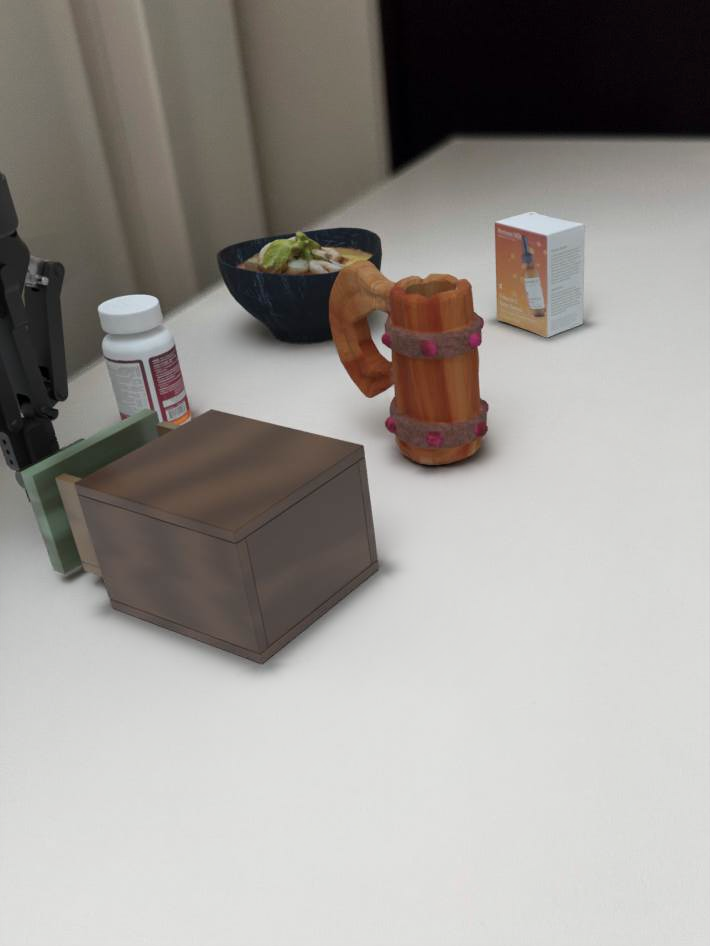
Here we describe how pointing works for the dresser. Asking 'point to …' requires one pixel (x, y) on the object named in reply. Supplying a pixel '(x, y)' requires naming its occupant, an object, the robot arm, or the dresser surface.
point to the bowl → (294, 277)
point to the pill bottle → (142, 359)
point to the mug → (415, 357)
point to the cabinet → (232, 530)
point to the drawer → (58, 496)
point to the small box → (540, 273)
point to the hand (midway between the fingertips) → (48, 501)
